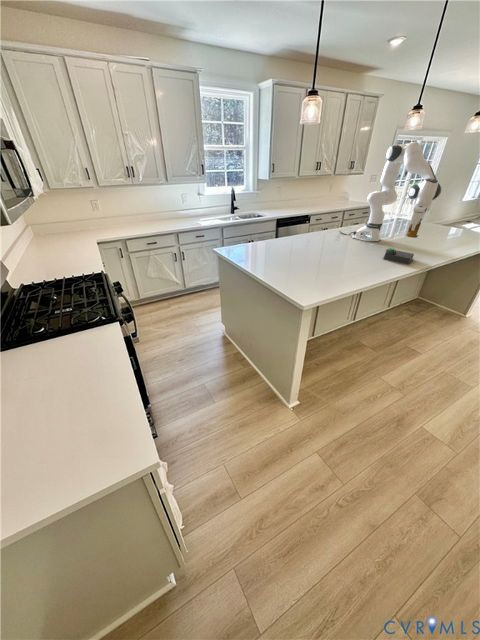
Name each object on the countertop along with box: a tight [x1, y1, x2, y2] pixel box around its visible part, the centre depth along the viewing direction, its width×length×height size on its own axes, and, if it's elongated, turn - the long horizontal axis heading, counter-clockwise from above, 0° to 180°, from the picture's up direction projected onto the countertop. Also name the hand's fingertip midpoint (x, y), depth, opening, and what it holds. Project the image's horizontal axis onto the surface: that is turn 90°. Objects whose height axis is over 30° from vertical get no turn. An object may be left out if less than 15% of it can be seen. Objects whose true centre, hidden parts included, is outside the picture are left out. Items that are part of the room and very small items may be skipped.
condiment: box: [404, 218, 423, 239], centre depth 174 cm, size 7×8×12 cm
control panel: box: [383, 248, 415, 265], centre depth 185 cm, size 17×13×6 cm
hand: (413, 229), depth 174 cm, fingers closed on condiment, 6 cm apart
